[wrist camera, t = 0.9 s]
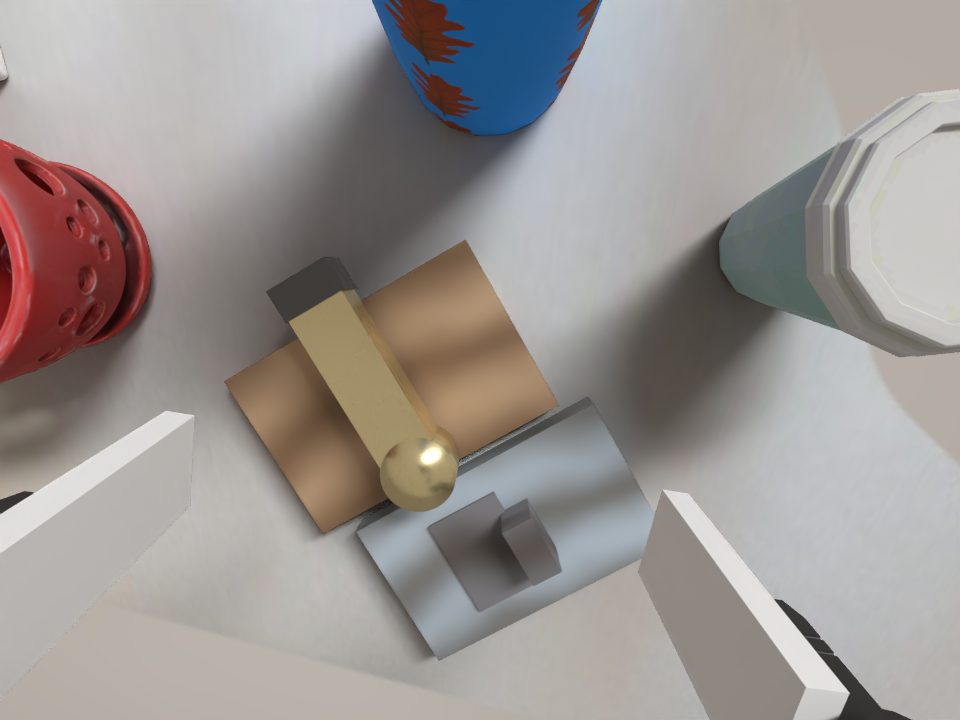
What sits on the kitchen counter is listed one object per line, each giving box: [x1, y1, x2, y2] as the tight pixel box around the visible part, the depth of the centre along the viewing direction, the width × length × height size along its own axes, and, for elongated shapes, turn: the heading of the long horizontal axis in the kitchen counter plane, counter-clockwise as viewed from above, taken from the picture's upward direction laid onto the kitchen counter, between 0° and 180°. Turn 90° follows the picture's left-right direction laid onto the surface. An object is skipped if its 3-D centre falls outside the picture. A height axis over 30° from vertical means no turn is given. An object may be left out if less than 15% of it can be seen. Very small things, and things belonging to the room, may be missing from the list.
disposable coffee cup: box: [719, 89, 960, 357], centre depth 27 cm, size 11×11×15 cm
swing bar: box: [267, 257, 459, 512], centre depth 31 cm, size 15×4×3 cm, turn 30°
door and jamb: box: [224, 240, 655, 660], centre depth 34 cm, size 24×20×5 cm
